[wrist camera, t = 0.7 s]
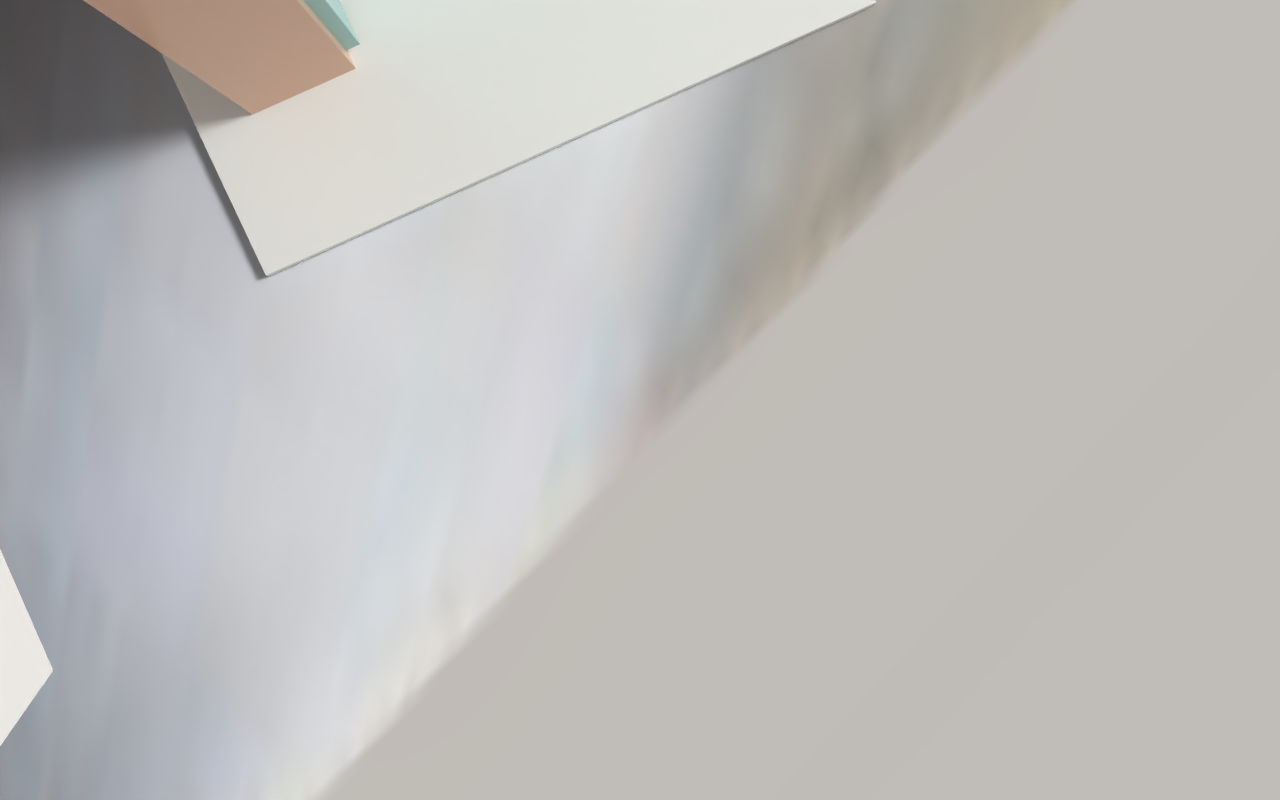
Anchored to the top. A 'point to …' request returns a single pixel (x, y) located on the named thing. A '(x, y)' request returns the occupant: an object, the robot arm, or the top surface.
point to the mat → (464, 102)
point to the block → (245, 42)
